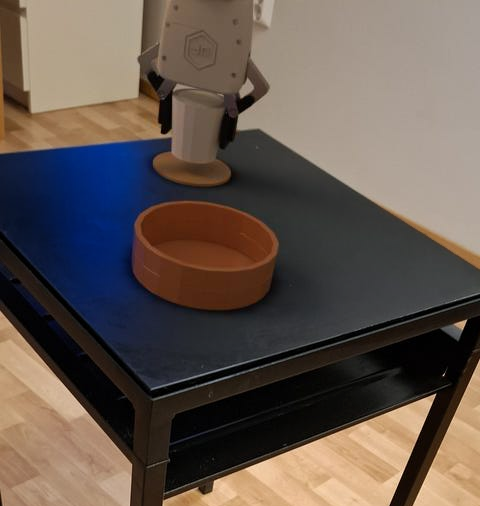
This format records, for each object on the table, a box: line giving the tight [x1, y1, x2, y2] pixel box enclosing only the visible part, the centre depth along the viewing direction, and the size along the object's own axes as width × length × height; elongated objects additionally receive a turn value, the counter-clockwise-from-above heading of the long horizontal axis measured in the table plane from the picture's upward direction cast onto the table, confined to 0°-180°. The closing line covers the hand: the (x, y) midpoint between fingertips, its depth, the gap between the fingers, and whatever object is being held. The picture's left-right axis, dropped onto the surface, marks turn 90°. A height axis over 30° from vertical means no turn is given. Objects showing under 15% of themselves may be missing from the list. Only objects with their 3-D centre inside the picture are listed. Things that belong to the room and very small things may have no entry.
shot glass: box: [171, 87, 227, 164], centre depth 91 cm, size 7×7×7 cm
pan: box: [130, 200, 280, 311], centre depth 74 cm, size 14×14×4 cm
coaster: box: [152, 150, 232, 188], centre depth 94 cm, size 10×10×1 cm
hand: (195, 137), depth 92 cm, fingers closed on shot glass, 6 cm apart
